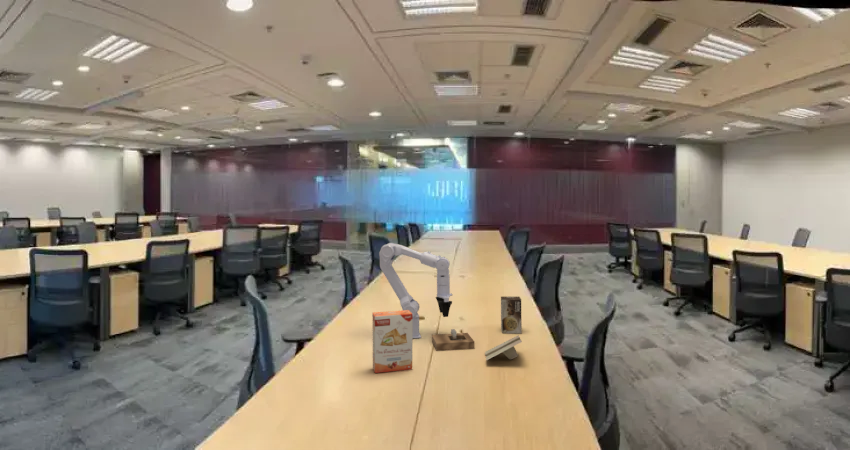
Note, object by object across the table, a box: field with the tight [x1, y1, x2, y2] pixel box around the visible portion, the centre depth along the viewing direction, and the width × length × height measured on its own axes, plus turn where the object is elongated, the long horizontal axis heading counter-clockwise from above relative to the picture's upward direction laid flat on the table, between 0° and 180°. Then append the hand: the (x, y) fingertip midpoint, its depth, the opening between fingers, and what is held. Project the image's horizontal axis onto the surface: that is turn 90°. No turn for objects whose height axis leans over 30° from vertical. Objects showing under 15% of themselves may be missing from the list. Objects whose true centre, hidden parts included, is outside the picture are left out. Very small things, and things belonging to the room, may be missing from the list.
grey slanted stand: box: [484, 335, 523, 361], centre depth 162 cm, size 16×9×15 cm
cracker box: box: [372, 309, 413, 374], centre depth 152 cm, size 14×6×21 cm, turn 105°
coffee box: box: [500, 296, 523, 334], centre depth 196 cm, size 9×6×16 cm
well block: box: [431, 332, 476, 352], centre depth 178 cm, size 16×12×3 cm
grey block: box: [450, 328, 463, 340], centre depth 179 cm, size 5×4×6 cm
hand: (443, 314), depth 189 cm, fingers open, 7 cm apart
